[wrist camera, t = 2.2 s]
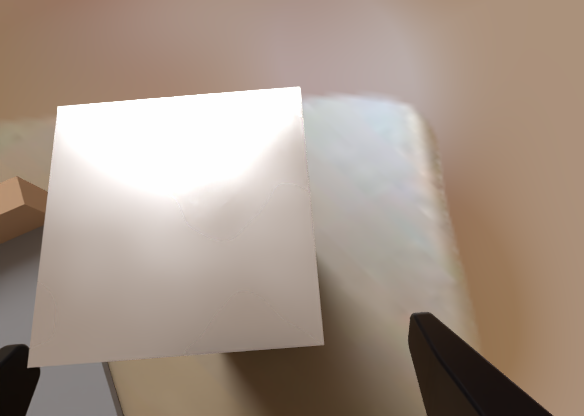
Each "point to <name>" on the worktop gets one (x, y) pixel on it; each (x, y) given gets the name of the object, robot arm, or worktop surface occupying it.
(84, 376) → the corner arena
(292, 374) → the worktop surface
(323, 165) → the worktop surface
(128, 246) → the aluminium post
